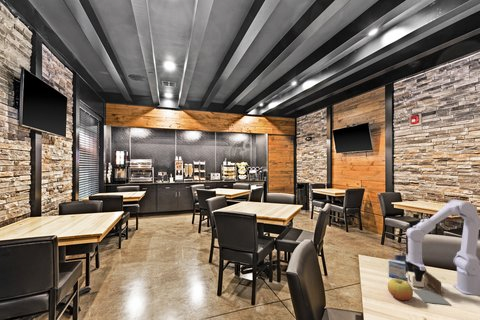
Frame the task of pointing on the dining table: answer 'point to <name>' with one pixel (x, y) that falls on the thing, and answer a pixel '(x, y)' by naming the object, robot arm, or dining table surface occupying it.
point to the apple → (400, 289)
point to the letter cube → (414, 280)
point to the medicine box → (397, 269)
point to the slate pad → (431, 297)
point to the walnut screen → (432, 283)
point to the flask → (401, 258)
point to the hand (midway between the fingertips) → (415, 278)
